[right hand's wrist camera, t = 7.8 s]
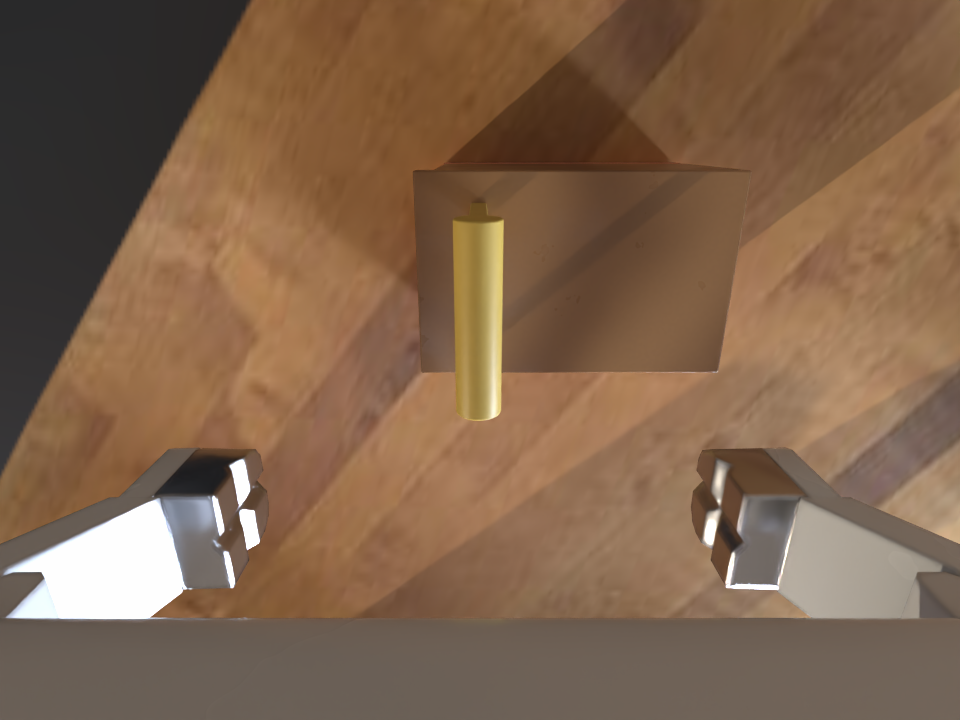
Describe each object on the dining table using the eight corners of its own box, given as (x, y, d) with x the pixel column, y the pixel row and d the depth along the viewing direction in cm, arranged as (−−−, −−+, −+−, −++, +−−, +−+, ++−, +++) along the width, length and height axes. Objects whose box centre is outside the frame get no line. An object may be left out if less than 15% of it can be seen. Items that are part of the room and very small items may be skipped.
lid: (422, 366, 28) (401, 450, 20) (414, 170, 25) (385, 181, 17) (711, 366, 28) (798, 450, 20) (744, 169, 25) (862, 181, 17)
